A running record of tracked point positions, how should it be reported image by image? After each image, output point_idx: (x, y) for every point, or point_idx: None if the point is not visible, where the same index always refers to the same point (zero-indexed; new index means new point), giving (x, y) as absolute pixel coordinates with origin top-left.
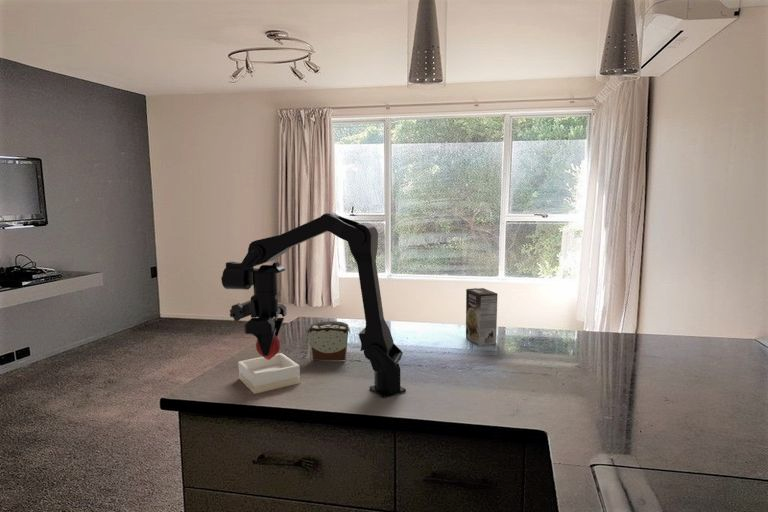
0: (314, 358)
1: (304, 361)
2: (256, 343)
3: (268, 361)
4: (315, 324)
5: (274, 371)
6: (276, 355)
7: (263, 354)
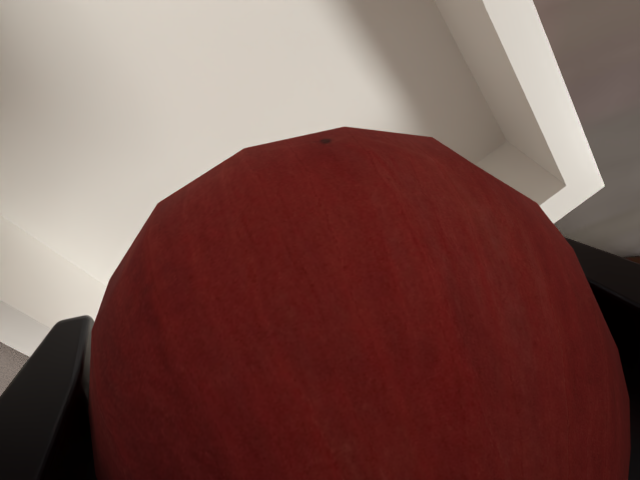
0: None
1: (627, 213)
2: (253, 257)
3: (484, 60)
4: None
5: (14, 342)
6: (551, 153)
7: (47, 346)
